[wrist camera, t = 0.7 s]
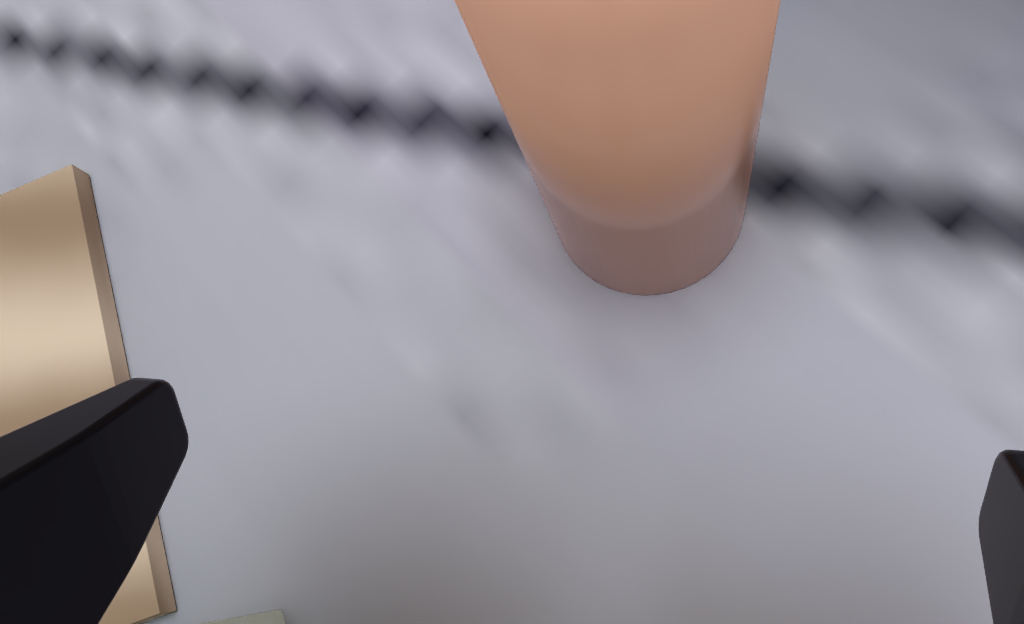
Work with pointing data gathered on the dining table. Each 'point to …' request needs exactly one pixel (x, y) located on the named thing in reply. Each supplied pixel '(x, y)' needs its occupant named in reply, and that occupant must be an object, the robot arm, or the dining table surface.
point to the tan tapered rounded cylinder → (633, 124)
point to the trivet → (66, 339)
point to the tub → (255, 619)
